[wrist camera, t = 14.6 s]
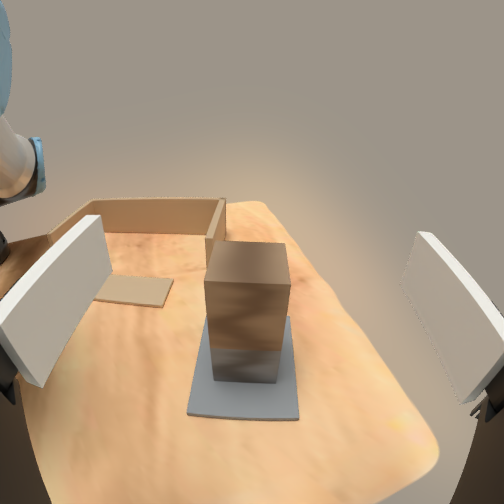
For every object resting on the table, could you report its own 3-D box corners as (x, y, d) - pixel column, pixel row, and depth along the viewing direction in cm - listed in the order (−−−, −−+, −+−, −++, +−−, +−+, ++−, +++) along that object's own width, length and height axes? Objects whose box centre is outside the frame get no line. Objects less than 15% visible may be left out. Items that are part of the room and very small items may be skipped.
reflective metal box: (213, 380, 26) (203, 280, 20) (220, 337, 31) (215, 240, 25) (275, 383, 26) (290, 284, 20) (274, 339, 31) (284, 243, 25)
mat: (187, 415, 23) (186, 412, 22) (207, 315, 35) (207, 312, 35) (298, 420, 23) (299, 417, 22) (288, 318, 35) (289, 316, 34)
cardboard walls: (38, 292, 36) (24, 253, 32) (96, 229, 55) (91, 199, 51) (208, 311, 35) (204, 263, 32) (226, 233, 55) (225, 197, 51)
